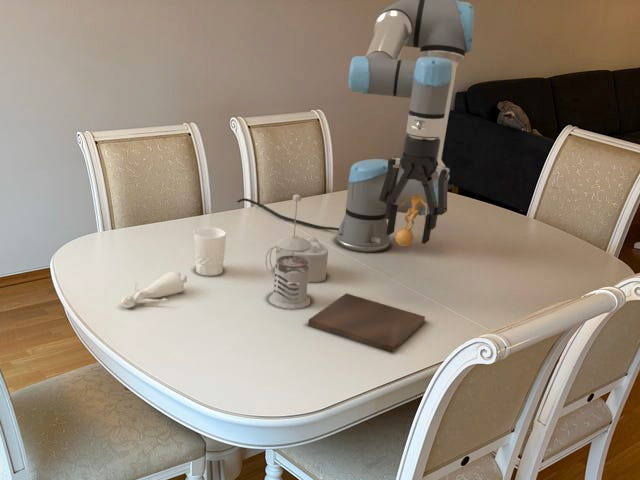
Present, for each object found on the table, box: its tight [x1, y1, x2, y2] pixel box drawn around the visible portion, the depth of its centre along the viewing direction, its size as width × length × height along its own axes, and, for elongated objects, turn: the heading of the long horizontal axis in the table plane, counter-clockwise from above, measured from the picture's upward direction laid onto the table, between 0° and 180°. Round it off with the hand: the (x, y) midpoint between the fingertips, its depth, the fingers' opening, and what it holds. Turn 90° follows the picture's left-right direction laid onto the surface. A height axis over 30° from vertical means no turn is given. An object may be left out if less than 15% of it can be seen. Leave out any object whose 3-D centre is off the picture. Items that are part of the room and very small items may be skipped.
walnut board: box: [307, 293, 426, 353], centre depth 155 cm, size 20×18×2 cm
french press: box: [265, 194, 312, 310], centre depth 158 cm, size 10×12×25 cm
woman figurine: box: [120, 271, 188, 309], centre depth 159 cm, size 12×4×18 cm
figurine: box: [395, 193, 428, 247], centre depth 159 cm, size 8×6×12 cm
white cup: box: [192, 227, 227, 277], centre depth 174 cm, size 8×8×10 cm
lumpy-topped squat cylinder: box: [274, 235, 329, 283], centre depth 177 cm, size 10×13×9 cm
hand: (407, 237), depth 161 cm, fingers closed on figurine, 8 cm apart
